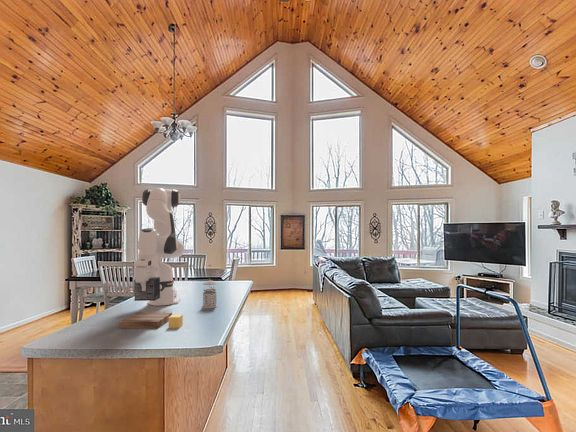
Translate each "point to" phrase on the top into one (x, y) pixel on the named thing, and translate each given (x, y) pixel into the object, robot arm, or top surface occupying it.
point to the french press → (209, 295)
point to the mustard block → (175, 321)
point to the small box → (148, 290)
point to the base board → (145, 320)
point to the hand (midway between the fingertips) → (147, 289)
